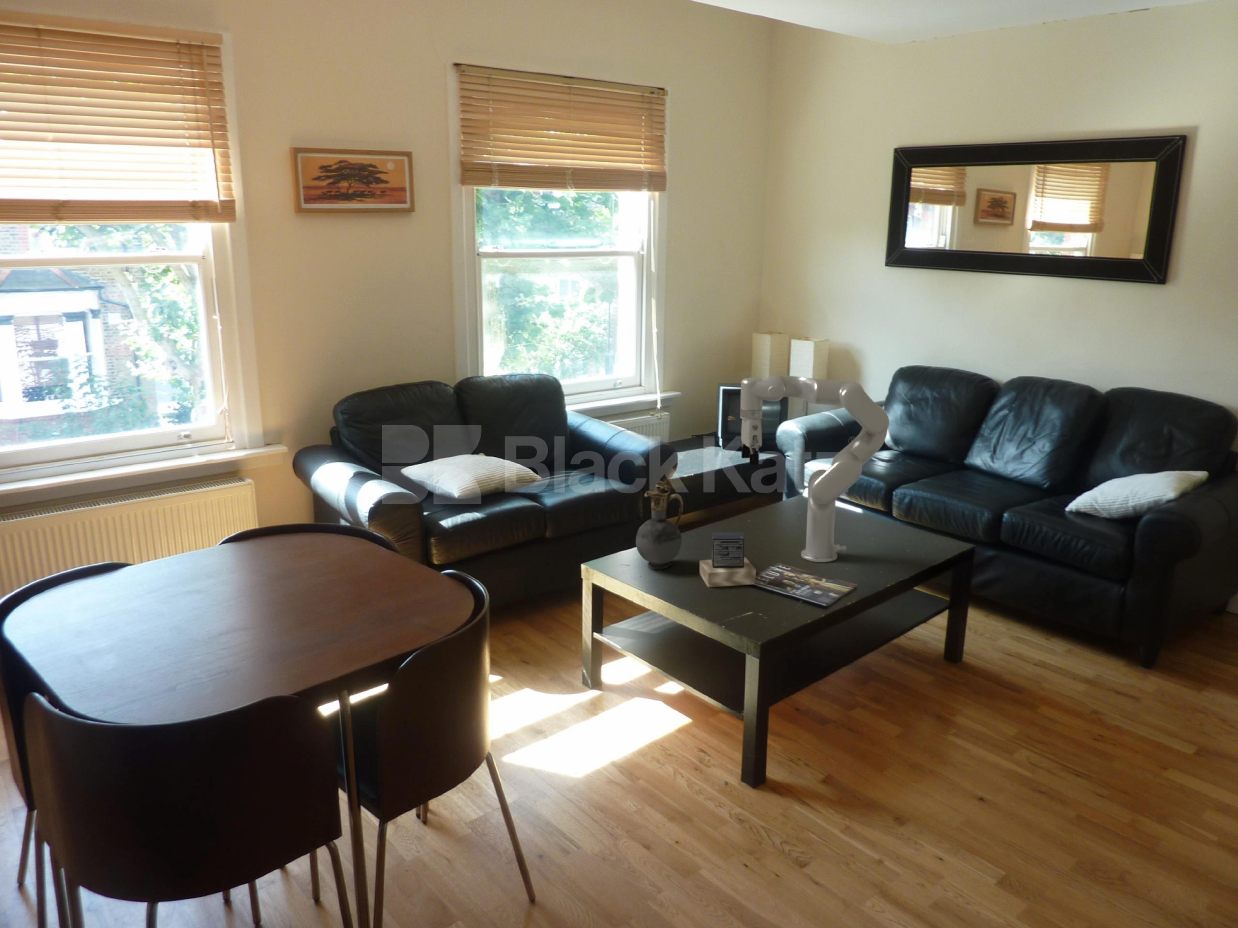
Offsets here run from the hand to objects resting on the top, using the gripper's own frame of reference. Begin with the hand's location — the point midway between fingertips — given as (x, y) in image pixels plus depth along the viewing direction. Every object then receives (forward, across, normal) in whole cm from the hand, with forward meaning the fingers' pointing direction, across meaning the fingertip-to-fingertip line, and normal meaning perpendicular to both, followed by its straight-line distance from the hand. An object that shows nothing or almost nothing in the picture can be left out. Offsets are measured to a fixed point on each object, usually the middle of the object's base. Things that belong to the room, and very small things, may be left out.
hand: (749, 461), depth 331 cm
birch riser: (+34, -23, +14) cm, 44 cm away
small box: (+30, -23, +14) cm, 40 cm away
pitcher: (+34, -6, +33) cm, 48 cm away
